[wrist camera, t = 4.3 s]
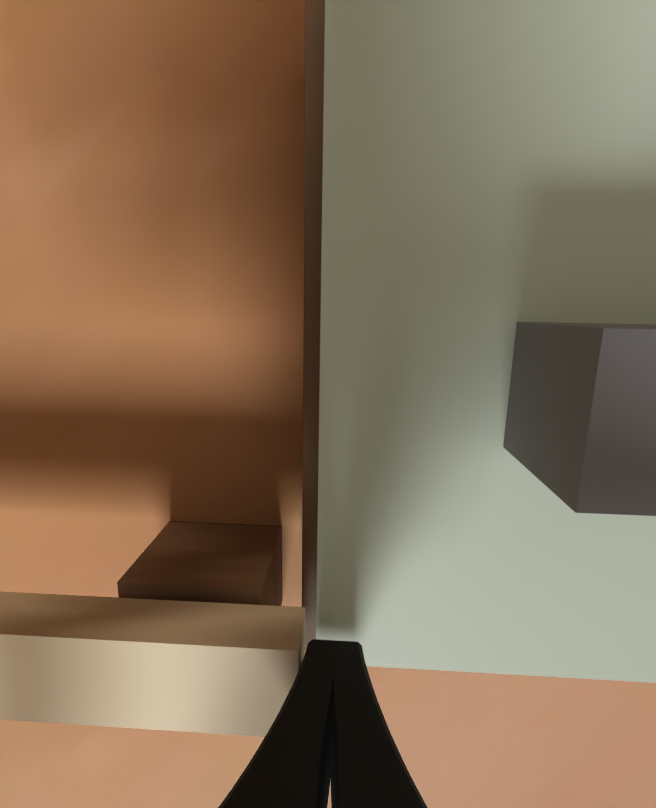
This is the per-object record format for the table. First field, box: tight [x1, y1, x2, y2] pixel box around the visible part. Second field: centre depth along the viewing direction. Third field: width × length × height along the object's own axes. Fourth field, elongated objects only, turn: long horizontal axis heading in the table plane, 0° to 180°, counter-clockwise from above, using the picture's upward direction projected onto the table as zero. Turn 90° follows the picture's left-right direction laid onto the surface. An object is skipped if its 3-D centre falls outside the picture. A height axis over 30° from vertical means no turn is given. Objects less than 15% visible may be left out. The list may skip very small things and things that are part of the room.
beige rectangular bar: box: [0, 592, 305, 737], centre depth 11 cm, size 12×2×2 cm, turn 89°
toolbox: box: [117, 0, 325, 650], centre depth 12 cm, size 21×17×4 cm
